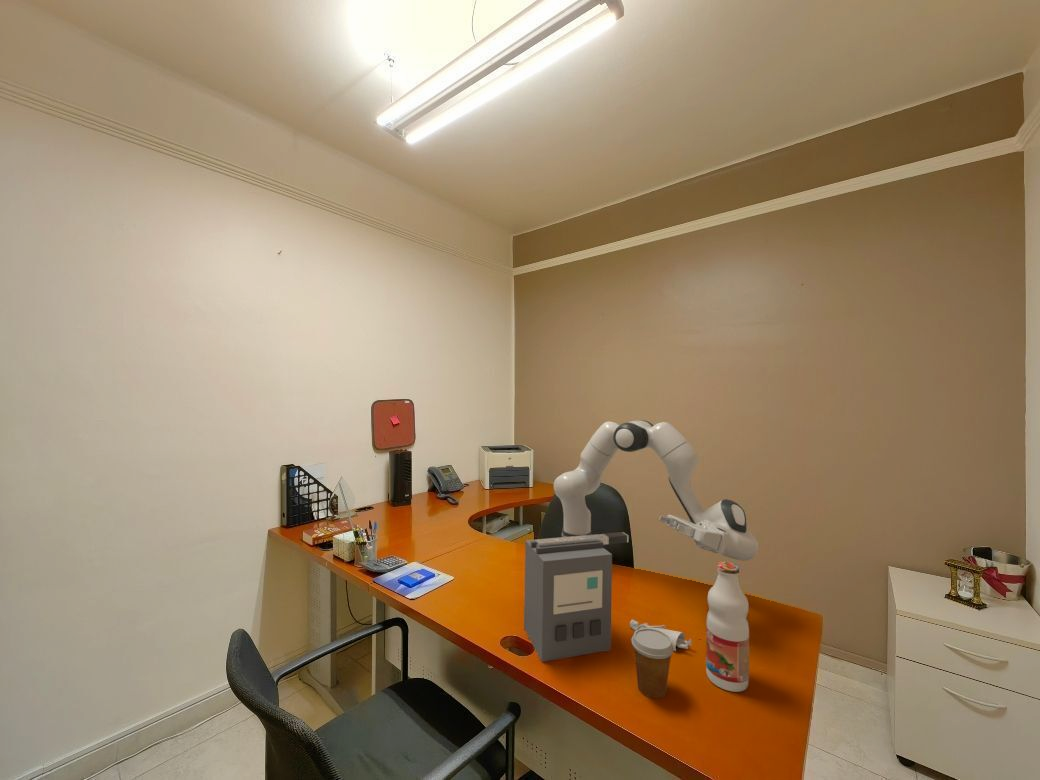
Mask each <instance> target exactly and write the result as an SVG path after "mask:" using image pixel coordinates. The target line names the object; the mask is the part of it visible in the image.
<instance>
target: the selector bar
mask: <svg viewBox="0 0 1040 780" xmlns="http://www.w3.org/2000/svg"><path fill="white" fill-rule="evenodd" d="M550 538H551V539H547V538H538V539H539V540H536V539H535V540H536V548H537V547H548V546H559V545H570V544H580V543H591V542H603V546H604V545H605V546H606V545H616V544H625V543H626V544H627V543H629V539H630V538H629V534H627V533H625V532H624V531H622V532H621V531H620V532H608V533H606V532H605V533H601V534H600V533H599V534H597V533H596V534H592V535H585V536H574V537H562V538H559V537H550Z"/></svg>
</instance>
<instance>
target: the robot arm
mask: <svg viewBox="0 0 1040 780" xmlns="http://www.w3.org/2000/svg"><path fill="white" fill-rule="evenodd" d="M646 448H649V449H651V450H653V451H654V452H655V453H656V454H657V456H658V457H659V459H660V460H661V461H662V463H663V464H664V466H665V469H666V470H667V473H668V482H669V484H670V487H671V488H672V491H673V492H674V494H675V496H676V497H677V499H678V501H679V502H680V504H681V506H682V509H684V511H685V513H686V515H687V516H688V519H689V520H688V519H684V518H681V517H679V516H676V515H673V514H667V516H664V515H660V516H659V519H658V520H659V522H661V523H663V524H665V525H666V526H668V527H670V529H673V530H675V531H677V532H679V533H681V534H683V535H685V536H687V537H688V538H690V539H692V540H693V541H694V543H695V545H696V547H697V548H699V549H700V550H701V549H702V550H704V551H707V552H710V553H713V554H719V555H722V556H724V557H726V558H729V559H732V560H735V561H742V562H748V561H752V560H753V558H755V557H756V555H757V554H758V552H759V546H760V545H759V542H758V540H757V538H755V536H754V535H753V534H752V533H751V532H750V530H749V527H748V525H747V516H746V513H745V510H744V509H743V507H742V506H740V504H738V503H737V502H736V501H734V500H732V499H728V498H726V499H725V498H724V499H722V500H720V501H719V502H717V503H715V504H713V505H711V506H710V507H709V508H706V509H705V508H704V507H703V506H702V504H701V502H700V501H699V499H698V498H697V495H696V494H695V492H694V490H693V488H692V485H691V483H692V482H691V479H692V477H693V475H694V473H695V470H696V468H697V465H698V455H697V453H696V450H695V449H694V448H693V446H692V445H691V444H690V443H689V441H688V440H687V439H686V437H684V436H683V435H682V433H680V431H679V430H678V429H676V427H675V426H673V425H672V424H670V423H669V422H668V421H667V422H666V421H662V422H658V423H655V424H653V423H651V422H650V421H647V420H644V419H642V420H641V419H640V420H631V421H628V422H623V423H621V424H618V423H616V422H614V421H605V422H603V423H602V424H601V425H600V426H599V427H598V428H597V430H596V431H595V432H594V433H593V434H592V436H591V438H590V439H589V440H588V442H587V444H585V446H584V448H583V449H582V451H581V453H580V457H579V458H580V461H579V464H578V466H577V467H576V468H575V469H574V470H570V471H566V472H563V473H561V474H560V475H559V476H557V477H556V478H555V479H554V481H553V490H554V494H555V495H556V497H558V499H559V500H560V502H561V505H562V512H563V527H562V530H561V537H570V536H582V535H593V534H592V533H593V532H592V530H591V528H592V527H591V526H592V525H591V524H592V519H591V518H592V513H591V511H590V509H589V508H588V507H587V504H586V496H588V495H590V494H593V493H594V492H595V491H596V490H598V488H599V487H600V486H601V478H602V475H603V473H604V471H605V469H606V468H607V466H608V465H609V464H610V462H611V461H612V459H613V458H614V456H615V454H616V453H617V451H618V450H620V451H624V452H627V453H633V452H637V451H642V450H644V449H646Z"/></svg>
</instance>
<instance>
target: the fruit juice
mask: <svg viewBox="0 0 1040 780" xmlns="http://www.w3.org/2000/svg"><path fill="white" fill-rule="evenodd" d="M716 571H717V577H716V580H715V582H714V584H713V585H712V586H711V588H709V590H708V593H707V605H708V609H709V610H708V612H707V615H706V623H705V625H706V626H705V627H706V630H705V631H706V635H705V636H706V637H705V639H706V641H705V645H706V646H705V647H706V648H705V651H706V652H705V655H706V657H705V669H706V671H705V672H706V675H707V676H706V677H707V678H708V679H709V681H710V682H711V683H712V684H714V685H715V686H716V687H719V688H720V689H722V690H725V691H728V692H733V693H734V692H735V693H739V692H743V691H746V690H747V689H748V686H749V682H750V679H749V678H750V666H749V665H750V627H749V626H750V625H749V621H748V619H747V616H748V612H749V608H750V606H749V601H748V598H747V596H746V595H745V593H744V592H743V590H742V589H741V586H740V583H739V574H740V567H739V565H737V564H735V563H733V562H728V561H720V562H717V563H716Z"/></svg>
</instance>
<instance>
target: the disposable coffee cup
mask: <svg viewBox="0 0 1040 780" xmlns="http://www.w3.org/2000/svg"><path fill="white" fill-rule="evenodd" d="M630 641H631V644H632V647H633V652H634V653H633V654H634V662H635V671H636V680H637V688H638V690H639V691H640V693H641V694H642V695H644V696H646V697H648V698H650V699H662V698H663V697H665V695H666V692H667V691H666V690H667V687H668V686H667V685H668V678H669V673H670V671H669V670H670V665H671V657H672V654H673V653H674V650H673V649H674V648H673V644H672V642H671V639H670V638H669V636H668V635H666V634H665V633H663V632H661V631H659V630H656V629H652V628H641V629H638V630H636V631H635V630H634V632H633V635H632V637H631V640H630Z"/></svg>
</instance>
